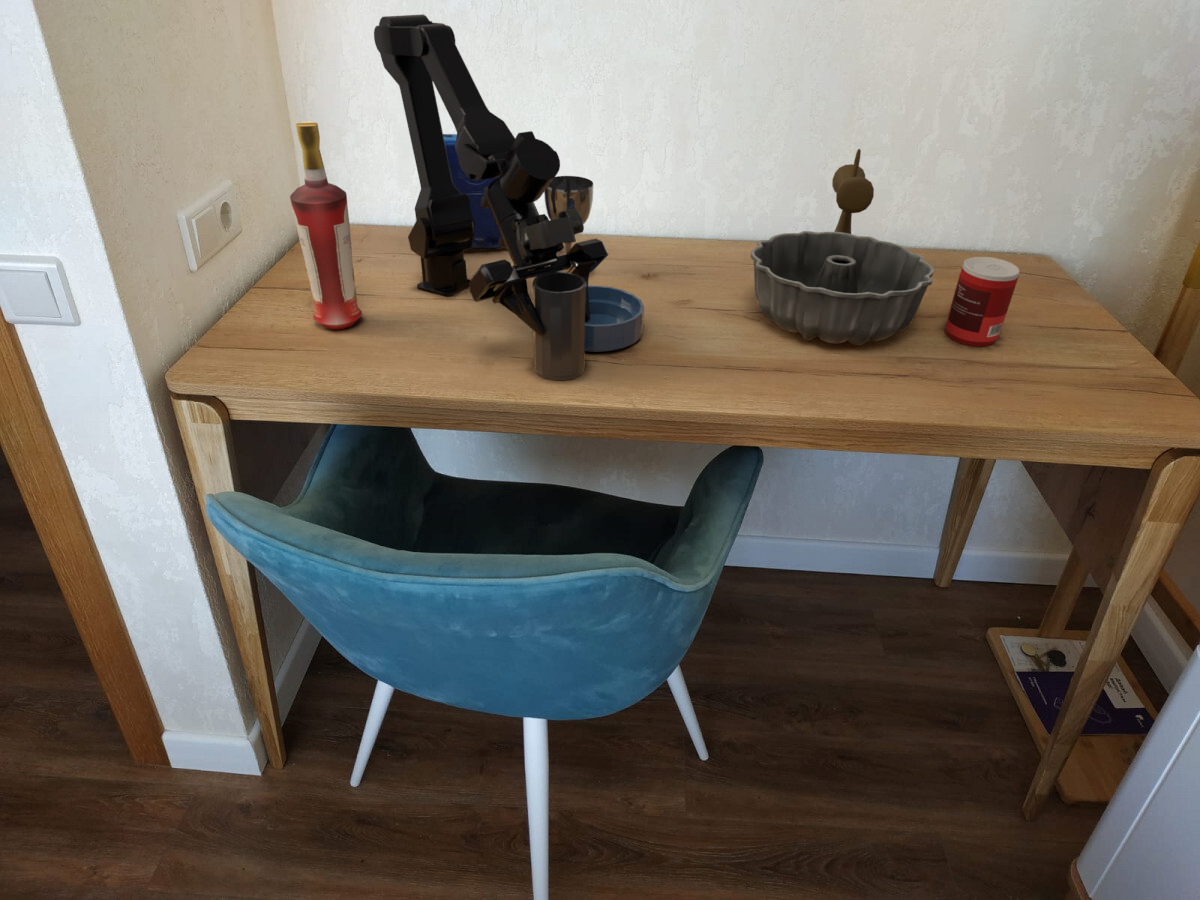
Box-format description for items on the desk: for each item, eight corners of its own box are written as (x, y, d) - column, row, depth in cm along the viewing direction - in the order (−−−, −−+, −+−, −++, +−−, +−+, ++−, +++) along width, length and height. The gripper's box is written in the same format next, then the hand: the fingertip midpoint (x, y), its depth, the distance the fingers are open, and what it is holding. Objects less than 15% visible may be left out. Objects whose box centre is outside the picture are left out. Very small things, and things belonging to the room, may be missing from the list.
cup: (524, 372, 112) (522, 285, 104) (550, 352, 117) (550, 268, 110) (568, 385, 109) (569, 296, 102) (593, 364, 114) (595, 278, 107)
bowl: (528, 340, 119) (528, 311, 117) (576, 305, 130) (576, 278, 127) (615, 364, 114) (616, 334, 112) (657, 326, 125) (659, 298, 122)
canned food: (996, 329, 127) (1018, 260, 121) (998, 351, 121) (1022, 280, 115) (943, 320, 129) (962, 253, 123) (943, 342, 123) (963, 272, 116)
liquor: (315, 313, 125) (280, 118, 109) (365, 310, 126) (337, 117, 110) (311, 335, 119) (273, 131, 103) (364, 331, 120) (334, 130, 105)
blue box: (431, 256, 145) (420, 138, 134) (430, 245, 150) (419, 130, 138) (512, 252, 148) (509, 136, 137) (509, 242, 152) (505, 128, 141)
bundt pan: (748, 279, 141) (755, 221, 135) (908, 296, 137) (923, 237, 131) (737, 348, 119) (746, 283, 114) (927, 371, 115) (946, 304, 109)
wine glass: (585, 282, 137) (587, 192, 129) (539, 277, 139) (538, 187, 130) (595, 265, 144) (597, 178, 136) (551, 260, 145) (550, 174, 137)
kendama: (822, 273, 144) (844, 155, 133) (816, 253, 152) (837, 140, 140) (857, 276, 143) (882, 157, 132) (850, 256, 151) (873, 142, 140)
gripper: (474, 201, 98) (527, 320, 96) (602, 177, 107) (651, 286, 106) (448, 245, 107) (495, 354, 106) (567, 220, 117) (611, 320, 115)
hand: (565, 328), depth 108 cm, fingers closed on cup, 7 cm apart
